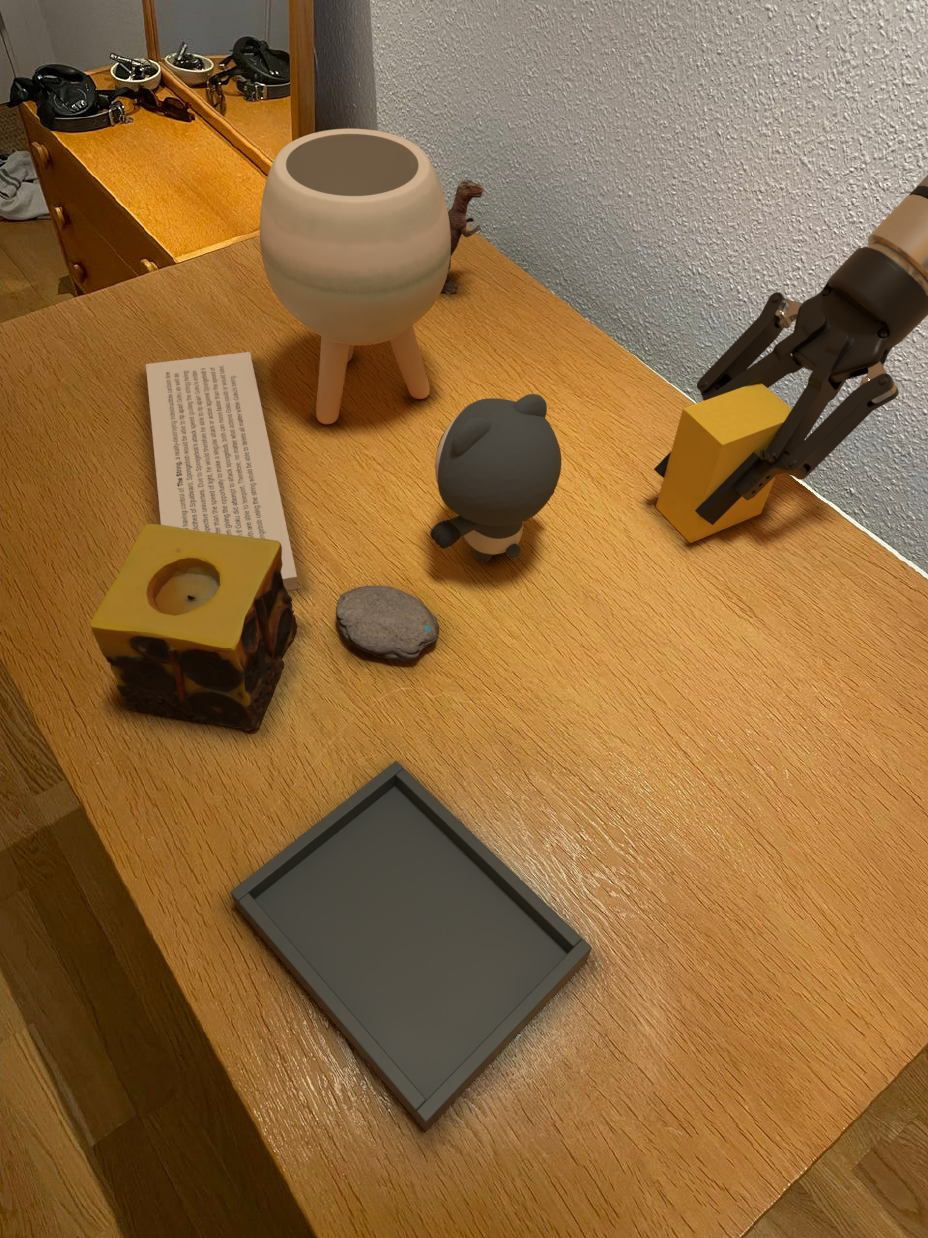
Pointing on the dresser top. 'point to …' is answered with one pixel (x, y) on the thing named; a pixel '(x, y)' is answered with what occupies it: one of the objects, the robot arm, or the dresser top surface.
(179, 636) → the candle
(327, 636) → the dresser top surface
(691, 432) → the yellow block
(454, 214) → the dinosaur model
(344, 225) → the planter
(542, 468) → the toy
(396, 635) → the stone
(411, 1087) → the tray
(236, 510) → the plaque
